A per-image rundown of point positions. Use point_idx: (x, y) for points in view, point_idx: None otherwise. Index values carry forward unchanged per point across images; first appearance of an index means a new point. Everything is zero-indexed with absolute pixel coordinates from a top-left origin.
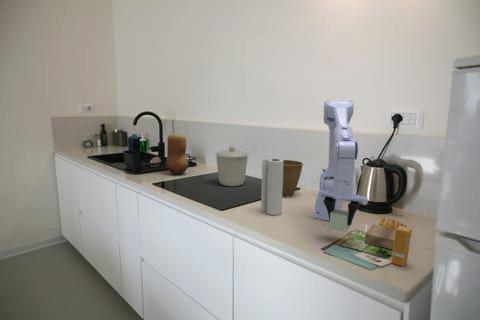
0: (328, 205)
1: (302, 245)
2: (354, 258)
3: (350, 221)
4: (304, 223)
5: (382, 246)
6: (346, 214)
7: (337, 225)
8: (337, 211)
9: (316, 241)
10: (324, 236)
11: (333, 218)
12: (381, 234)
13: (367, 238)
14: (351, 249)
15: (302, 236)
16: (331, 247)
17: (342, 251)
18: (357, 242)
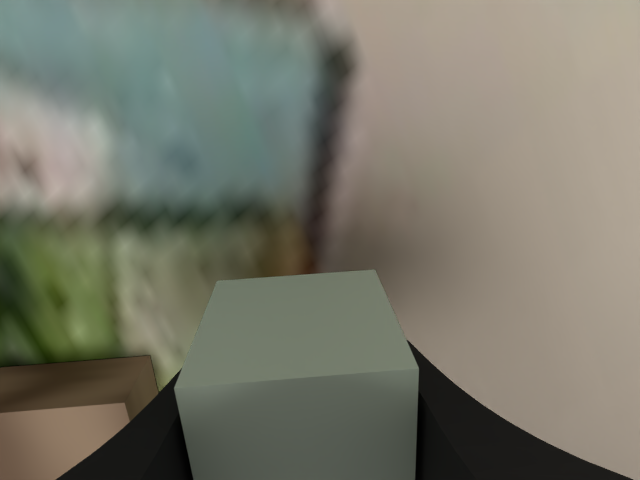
0: (507, 459)
1: (500, 8)
2: (73, 58)
3: (172, 384)
4: (603, 395)
5: (29, 368)
6: (209, 438)
7: (299, 295)
8: (356, 466)
9: (430, 164)
10: (411, 285)
11: (357, 329)
12: (34, 461)
13: (119, 381)
14: (167, 201)
15: (552, 180)
16: (295, 135)
17: (200, 121)
18: (190, 336)
